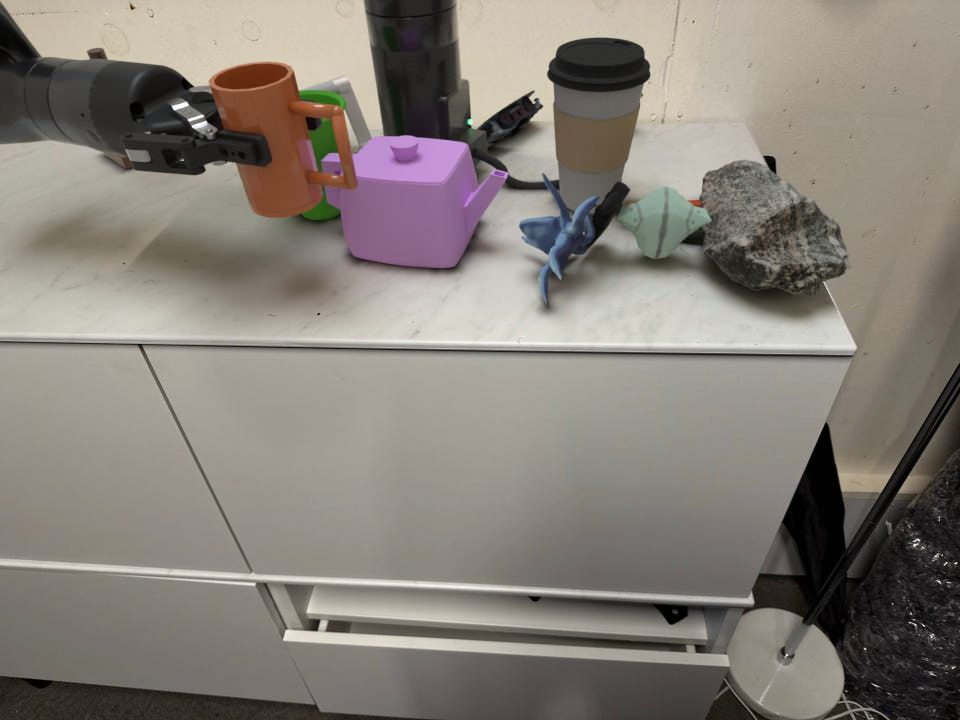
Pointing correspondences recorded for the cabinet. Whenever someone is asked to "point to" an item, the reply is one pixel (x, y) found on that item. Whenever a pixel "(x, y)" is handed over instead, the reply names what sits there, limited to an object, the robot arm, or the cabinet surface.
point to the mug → (280, 137)
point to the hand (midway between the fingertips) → (293, 132)
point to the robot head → (662, 221)
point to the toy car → (510, 119)
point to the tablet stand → (348, 106)
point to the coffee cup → (595, 113)
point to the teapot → (412, 200)
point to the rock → (768, 231)
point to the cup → (323, 148)
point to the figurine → (569, 229)
